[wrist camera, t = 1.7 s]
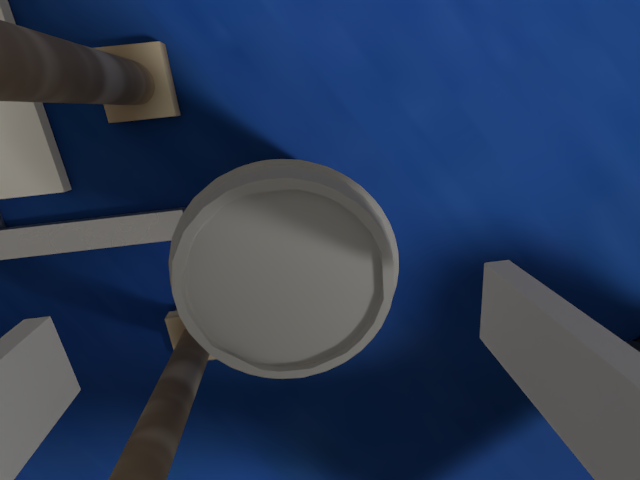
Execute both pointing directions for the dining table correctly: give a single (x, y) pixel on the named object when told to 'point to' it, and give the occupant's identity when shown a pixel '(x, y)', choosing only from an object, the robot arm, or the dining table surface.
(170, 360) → the gate posts
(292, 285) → the disposable coffee cup
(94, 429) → the dining table surface
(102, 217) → the guide strip
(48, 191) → the tile
